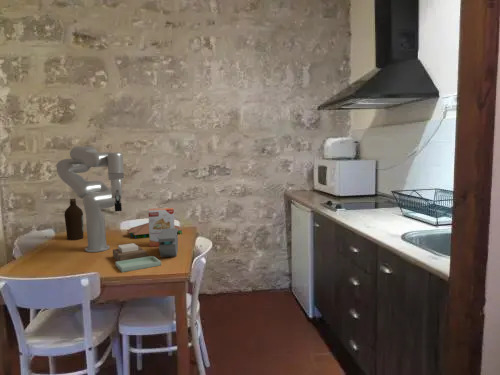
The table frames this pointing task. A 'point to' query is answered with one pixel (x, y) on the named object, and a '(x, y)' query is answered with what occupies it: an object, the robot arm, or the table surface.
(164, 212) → the cracker box
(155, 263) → the tray
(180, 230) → the house
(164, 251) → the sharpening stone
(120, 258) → the riser
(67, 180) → the robot arm
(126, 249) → the coaster
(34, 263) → the table surface
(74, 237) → the olive oil
